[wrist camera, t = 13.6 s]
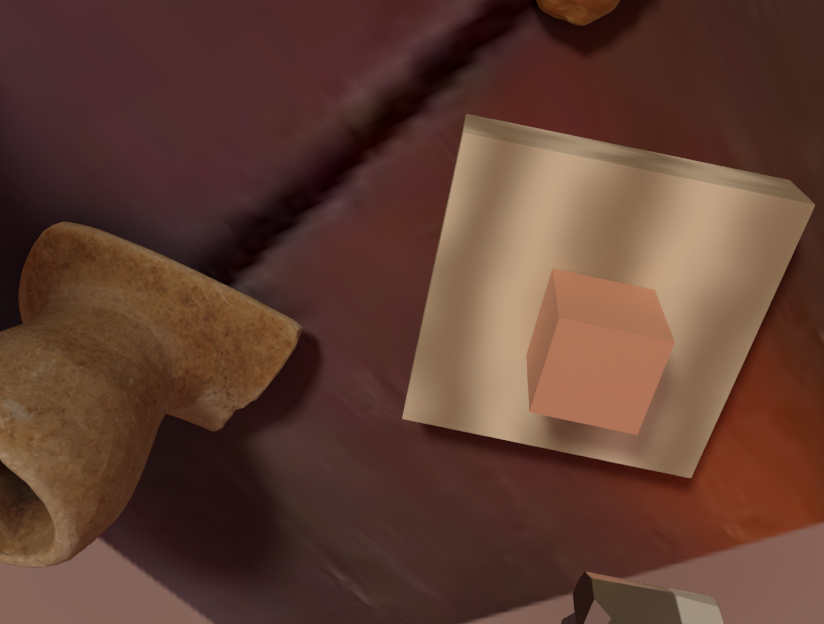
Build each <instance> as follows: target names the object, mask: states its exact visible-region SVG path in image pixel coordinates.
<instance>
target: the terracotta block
mask: <svg viewBox="0 0 824 624" xmlns="http://www.w3.org/2000/svg"><path fill="white" fill-rule="evenodd" d="M674 344H675V341H674V338H673V336H672V333H671V331H670V328H669V325H668V323H667V320H666V318H665V315H664V313H663V310H662V307H661V305H660V302H659V300H658V297H657V294H656V292H655V290H653V289H648V288H643V287H639V286H634V285H629V284H625V283H620V282H615V281H610V280H606V279H601V278H596V277H591V276H587V275H582V274H577V273H573V272H568V271H563V270H558V269H554V268H552V272H551V275H550V278H549V282H548V285H547V288H546V291H545V295H544V298H543V301H542V305H541V308H540V311H539V315H538V318H537V321H536V325H535V328H534V331H533V335H532V338H531V341H530V345H529V348H528V351H527V355H526V359H527V378H528V397H529V412H531V413H536V414H541V415H545V416H550V417H555V418H559V419H564V420H569V421H573V422H578V423H583V424H588V425H592V426H597V427H602V428H606V429H611V430H616V431H621V432H625V433H630V434H635V435H638V432H639V430H640V427H641V425H642V422H643V420H644V417H645V415H646V412H647V410H648V407H649V405H650V403H651V400H652V398H653V395H654V393H655V390H656V388H657V385H658V383H659V380H660V378H661V376H662V373H663V371H664V368H665V366H666V363H667V361H668V358H669V356H670V353H671V351H672V348H673V346H674Z"/></svg>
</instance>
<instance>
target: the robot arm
mask: <svg viewBox="0 0 824 624" xmlns="http://www.w3.org/2000/svg"><path fill="white" fill-rule="evenodd" d="M573 600H574V610H575V613H573V614H572V615H570V616H568V617H566V618H564V619H563V620H562V623H561V624H724V623H723V620H722V616H721V613H720V610H719V607H718V604H717V603H716V602H715V600H714V599H713V598H712V597H711V596H707V595H702V594H697V593H692V592H687V591H682V590H677V589H672V588H668V589H666V588H664V587H660V586H655V585H650V584H645V583H640V582H635V581H630V580H625V579H620V578H615V577H610V576H605V575H600V574H595V573H590V572H584V574H583V575H582V576H581V577H580V578H579V580H578V583H577V585H576V588H575V590H574V592H573Z"/></svg>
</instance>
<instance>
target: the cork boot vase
mask: <svg viewBox="0 0 824 624" xmlns="http://www.w3.org/2000/svg"><path fill="white" fill-rule="evenodd" d="M18 302H19V308H20V314H21V319H22V322H23V324H21V325H18V326H15V327H12V328H10V329H7V330H4V331H1V332H0V562H1V563H6V564H10V565H15V566H22V567H33V568H41V567H48V566H53V565H57V564H60V563H63V562H65V561H68V560H70V559H72V558H73V557H74V556H76V555H77V554H78V553H79V552H81V551H82V550H83V549H84V548H86V547H87V546H88V545H89V544H91V543H92V542H93V541H94V540H95V539H96V538H97V537H98V536H100V535H101V534H102V533H103V532H104V531H105V530H106V529H107V528H108V527H109V526H110V525H111V524H112V523H113V522H114V521H115V520H116V519H117V518H118V517H119V515H120V514H121V513H122V511H123V510H124V508H125V507H126V505H127V504H128V502H129V500H130V499H131V497H132V495H133V493H134V490H135V488H136V486H137V484H138V482H139V480H140V477H141V475H142V472H143V470H144V467H145V464H146V461H147V459H148V456H149V453H150V451H151V448H152V446H153V443H154V440H155V436H156V433H157V430H158V428H159V426H160V423H161V421H162V419H163V418H164V416H165V414H169V415H172V416H175V417H178V418H180V419H183V420H186V421H188V422H191V423H193V424H196V425H198V426H201V427H203V428H206V429H208V430H210V431H218V430H220V429H222V428H223V427H224V425H225V424H226V422H227V421H228V420H229V419H230V418H231V417H232V415H233V413H234V412H235V411H236V410H237V409H241V408H244V407H245V406H247V405H248V404H249V403H250V402H251V401H254V400H256V399H257V398H258V397H259V396H260V395H261V394H262V393H263V391H264V390H265V389H266V388H267V386H268V385H269V384H270V382H271V381H272V380H273V379H274V378H275V377H276V375H277V374H278V373H279V372H280V370H281V369H282V367H283V366H284V364H285V363H286V361H287V360H288V358H289V356H290V355H291V353H292V352H293V351H294V349H295V348H296V346H297V342H298V339H299V336H300V335H301V332H302V327H301V326H300V325H299V324H298V323H297V322H296V321H294V320H293V319H291V318H289V317H287V316H286V315H284V314H282V313H280V312H278V311H276V310H274V309H272V308H270V307H268V306H267V305H265V304H263V303H261V302H259V301H258V300H256V299H254V298H252V297H250V296H247V295H245V294H243V293H241V292H239V291H237V290H235V289H233V288H231V287H229V286H227V285H225V284H222V283H220V282H218V281H216V280H214V279H212V278H210V277H208V276H206V275H204V274H202V273H200V272H198V271H196V270H194V269H191V268H189V267H187V266H185V265H183V264H180V263H178V262H176V261H174V260H172V259H170V258H168V257H165V256H163V255H161V254H159V253H156V252H154V251H152V250H150V249H147V248H145V247H143V246H140V245H138V244H135V243H133V242H130V241H128V240H125V239H123V238H120V237H118V236H115V235H113V234H110V233H108V232H105V231H103V230H100V229H97V228H94V227H90V226H85V225H81V224H77V223H71V222H60V223H57V224H54V225H52V226H51V227H50V228H48V229H46V230H44V231H43V232H42V234H41V235H40V237H39V238H38V239H37V241H36V242H35V244H34V245H33V247H32V249H31V251H30V253H29V255H28V257H27V259H26V262H25V264H24V267H23V270H22V274H21V279H20V286H19V296H18Z"/></svg>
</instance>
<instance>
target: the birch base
mask: <svg viewBox="0 0 824 624" xmlns="http://www.w3.org/2000/svg"><path fill="white" fill-rule="evenodd" d="M814 206H815V204H814V203H813V202H812V201H811V200H810V199H809V198H808V197H807V196H806V195H805V194H803V193H802V192H801V191H800V190H799V189H798V188H797V187H796V186H795V185H794V184H793V183H792V182H791V181H790V180H786V179H781V178H776V177H771V176H767V175H762V174H757V173H752V172H747V171H742V170H737V169H733V168H728V167H723V166H718V165H713V164H708V163H703V162H698V161H694V160H689V159H684V158H679V157H674V156H669V155H664V154H659V153H655V152H650V151H645V150H640V149H635V148H630V147H625V146H621V145H616V144H611V143H606V142H601V141H596V140H591V139H586V138H582V137H577V136H572V135H567V134H562V133H557V132H552V131H547V130H543V129H538V128H533V127H528V126H523V125H518V124H513V123H509V122H504V121H499V120H494V119H489V118H484V117H479V116H474V115H470V114H466V117H465V121H464V126H463V131H462V135H461V140H460V145H459V149H458V154H457V159H456V164H455V168H454V173H453V178H452V182H451V187H450V192H449V196H448V201H447V206H446V211H445V215H444V220H443V225H442V229H441V234H440V239H439V243H438V248H437V253H436V258H435V262H434V267H433V272H432V276H431V281H430V286H429V291H428V295H427V300H426V305H425V309H424V314H423V319H422V323H421V328H420V333H419V338H418V342H417V347H416V352H415V356H414V361H413V366H412V370H411V375H410V380H409V385H408V390H407V395H406V401H405V406H404V411H403V417H402V419H406V420H410V421H415V422H420V423H425V424H430V425H435V426H439V427H444V428H449V429H454V430H459V431H464V432H469V433H473V434H478V435H483V436H488V437H493V438H498V439H502V440H507V441H512V442H517V443H522V444H527V445H531V446H536V447H541V448H546V449H551V450H556V451H561V452H565V453H570V454H575V455H580V456H585V457H590V458H594V459H599V460H604V461H609V462H614V463H619V464H624V465H628V466H633V467H638V468H643V469H648V470H653V471H657V472H662V473H667V474H672V475H677V476H682V477H686V478H691V477H692V475H693V473H694V471H695V468H696V466H697V464H698V462H699V460H700V457H701V455H702V453H703V451H704V449H705V446H706V444H707V442H708V440H709V438H710V435H711V433H712V431H713V429H714V427H715V424H716V422H717V420H718V418H719V416H720V413H721V411H722V409H723V407H724V405H725V402H726V400H727V398H728V396H729V394H730V391H731V389H732V387H733V385H734V383H735V380H736V378H737V376H738V374H739V372H740V369H741V367H742V365H743V363H744V361H745V358H746V356H747V354H748V352H749V350H750V347H751V345H752V343H753V341H754V339H755V336H756V334H757V332H758V330H759V328H760V325H761V323H762V321H763V319H764V316H765V314H766V312H767V310H768V308H769V305H770V303H771V301H772V299H773V297H774V294H775V292H776V290H777V288H778V286H779V283H780V281H781V279H782V277H783V275H784V272H785V270H786V268H787V266H788V264H789V261H790V259H791V257H792V255H793V253H794V250H795V248H796V246H797V244H798V242H799V239H800V237H801V235H802V233H803V231H804V228H805V226H806V224H807V222H808V220H809V217H810V215H811V213H812V211H813V209H814ZM552 268H554V269H558V270H563V271H568V272H573V273H577V274H582V275H587V276H591V277H596V278H601V279H606V280H610V281H615V282H620V283H625V284H629V285H634V286H639V287H643V288H648V289H653V290H655V292H656V294H657V297H658V300H659V302H660V305H661V307H662V310H663V313H664V315H665V318H666V320H667V323H668V325H669V328H670V331H671V333H672V336H673V338H674V341H675V344H674V346H673V348H672V351H671V353H670V356H669V358H668V361H667V363H666V366H665V368H664V371H663V373H662V376H661V378H660V380H659V383H658V385H657V388H656V390H655V393H654V395H653V398H652V400H651V403H650V405H649V407H648V410H647V412H646V415H645V417H644V420H643V422H642V425H641V427H640V430H639V432H638V435H635V434H630V433H625V432H621V431H616V430H611V429H606V428H602V427H597V426H592V425H588V424H583V423H578V422H573V421H569V420H564V419H559V418H555V417H550V416H545V415H541V414H536V413H531V412H529V397H528V378H527V359H526V355H527V351H528V348H529V345H530V341H531V338H532V335H533V331H534V328H535V325H536V321H537V318H538V315H539V311H540V308H541V305H542V301H543V298H544V295H545V291H546V288H547V285H548V282H549V278H550V275H551V272H552Z"/></svg>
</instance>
